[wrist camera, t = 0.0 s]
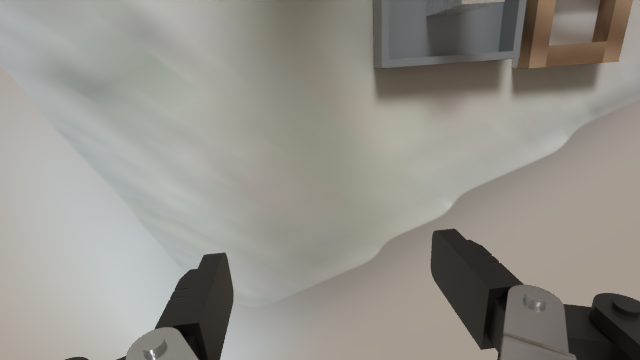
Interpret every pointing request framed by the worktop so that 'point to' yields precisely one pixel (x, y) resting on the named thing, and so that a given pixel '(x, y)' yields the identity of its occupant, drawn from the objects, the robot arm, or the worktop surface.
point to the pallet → (572, 32)
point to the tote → (444, 34)
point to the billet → (456, 6)
